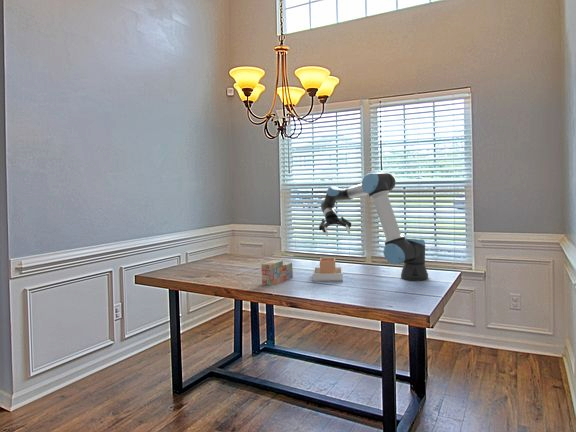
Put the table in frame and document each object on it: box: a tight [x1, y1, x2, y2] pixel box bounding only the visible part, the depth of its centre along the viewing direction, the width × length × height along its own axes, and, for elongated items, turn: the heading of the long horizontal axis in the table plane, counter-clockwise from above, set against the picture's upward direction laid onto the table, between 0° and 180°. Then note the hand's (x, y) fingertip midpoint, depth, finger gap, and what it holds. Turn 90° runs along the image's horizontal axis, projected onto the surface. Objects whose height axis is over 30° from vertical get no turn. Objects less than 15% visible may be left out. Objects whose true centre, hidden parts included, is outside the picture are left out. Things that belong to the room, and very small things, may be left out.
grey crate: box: [312, 266, 344, 283], centre depth 246 cm, size 17×17×4 cm
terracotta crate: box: [319, 257, 336, 273], centre depth 245 cm, size 9×9×10 cm
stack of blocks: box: [261, 259, 294, 287], centre depth 241 cm, size 21×6×12 cm, turn 143°
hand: (338, 233), depth 250 cm, fingers open, 13 cm apart
